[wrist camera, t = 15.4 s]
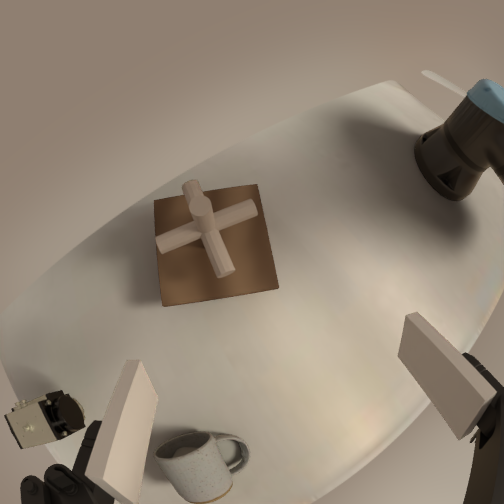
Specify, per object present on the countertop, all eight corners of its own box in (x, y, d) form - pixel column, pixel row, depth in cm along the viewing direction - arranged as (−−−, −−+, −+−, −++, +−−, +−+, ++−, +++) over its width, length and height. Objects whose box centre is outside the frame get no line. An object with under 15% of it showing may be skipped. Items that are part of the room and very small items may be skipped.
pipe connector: (158, 220, 32) (129, 180, 22) (235, 189, 33) (234, 139, 23) (186, 299, 30) (162, 287, 20) (269, 264, 31) (283, 237, 21)
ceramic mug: (187, 485, 27) (179, 513, 19) (160, 439, 29) (144, 461, 21) (259, 465, 28) (266, 492, 21) (234, 417, 30) (235, 438, 23)
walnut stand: (254, 202, 39) (257, 184, 34) (273, 293, 35) (279, 287, 30) (163, 216, 37) (153, 200, 33) (172, 309, 34) (162, 305, 29)
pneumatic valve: (108, 415, 29) (63, 440, 17) (57, 432, 27) (10, 452, 15) (90, 379, 30) (38, 391, 19) (41, 400, 28) (-9, 411, 16)
